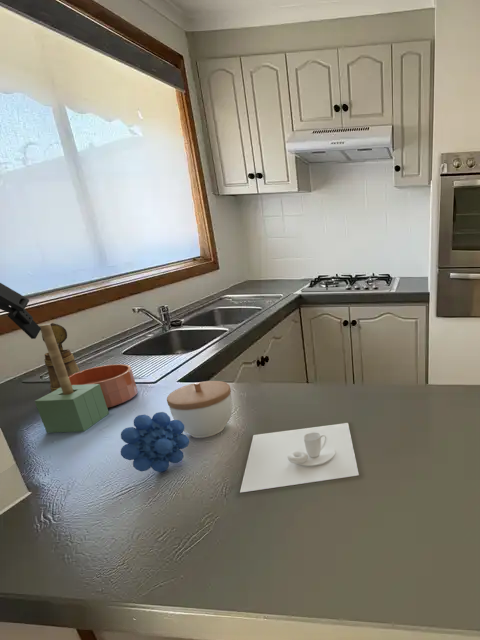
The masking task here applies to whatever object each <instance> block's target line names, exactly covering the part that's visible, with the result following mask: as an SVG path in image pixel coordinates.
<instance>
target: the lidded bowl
mask: <svg viewBox="0 0 480 640" xmlns="http://www.w3.org/2000/svg"><path fill="white" fill-rule="evenodd" d="M166 403H167V405H168V407H169V410H170V414H171V416H172V419H173V420H179V421H181V422H182V423H183V424H184V427H185V428H184V431H183V433H186V434H188V435H190V436H191V437H193V438H197V439H204V438H209V437H213V436H216V435H218V434H219V433H221V432H223V431H224V429H225V428H226V425H227V424H228V423H229V421H230V419H231V417H232V413H233V398H232V390H231V385H230V384H229V383H228V382H225V381H222V380H206V381H205V380H204V381H199V382H198V381H197V382H193V383H189V384H187V385H184V386H181V387H178V388H177V389H175V390H173V391H172V392H170V393H169V394H168V396H167V397H166Z"/></svg>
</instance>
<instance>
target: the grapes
mask: <svg viewBox="0 0 480 640" xmlns="http://www.w3.org/2000/svg"><path fill="white" fill-rule="evenodd" d="M184 428H185V427H184V424H183V423H182V422H181V421H179V420H174V419H173V420H171V416H169V414H167V413H166V412H164V411H159V412H156V413H154V414H153V416H152V417H150V416H149V415H148V414H138V415H137V416H136V417H134V419H133V426H130V427H125V428H124V429H122V431H121V432H120V439H121V440H122V441H123V443H125V444H124V445H123V446H122V447H121V448H120V456H121V457H122V458H123V459H124V460H127V461H133V462H132V466H133V468H134V469H135V470H136V471H139V472H147V471H148V470H150V469H152V470H153V471H154V472H157V473H163V472H166V471H167V470H168V469H169V467H170V463H171V464H179V463H180V462H182V461H183V459H184V456H185V455H184V452H183V451H182V450H183V449H184V450H185V449H186V448H187V447H188V446H189V444H190V438H189V437H188V436H187V435H186V434H184Z"/></svg>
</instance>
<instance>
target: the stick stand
mask: <svg viewBox="0 0 480 640" xmlns="http://www.w3.org/2000/svg"><path fill="white" fill-rule="evenodd" d="M72 388H73V391H74V392H73V393H72V394H69V395H64V394H63V392H62V389H61V387H60V388H59V389H57V390H55V391H53V392H52V391H51V392H49V393H48V394H45V395H44V396H42V397H40V398H38V399H36V400H34V403H35V406H36V409H37V411H38V415H39V416H40V420H41V421H42V424H43V426H44V430H45V433H47V434H51V433H53V434H55V433H79V432H86V431H88V429H90V428H91V427H93V426H94V425H96V424H97V423H98V422H100V421H101V420H103V419H104V418H105V417H107V416H108V415H110V412H109V408H107V405H106V402H105V399H104V396H103V393H102V390H101V387H100V384H87V385H72Z"/></svg>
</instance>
